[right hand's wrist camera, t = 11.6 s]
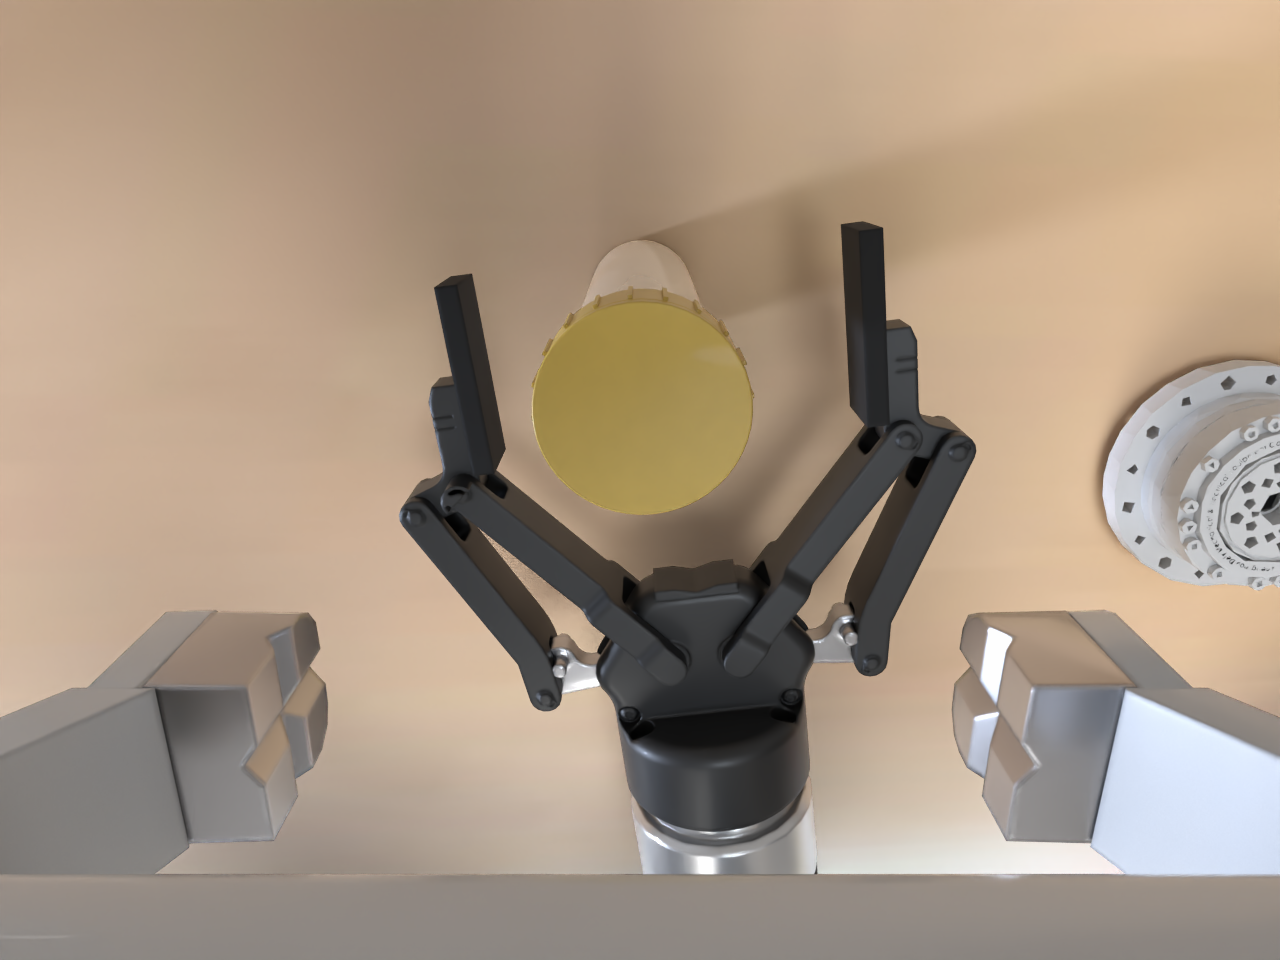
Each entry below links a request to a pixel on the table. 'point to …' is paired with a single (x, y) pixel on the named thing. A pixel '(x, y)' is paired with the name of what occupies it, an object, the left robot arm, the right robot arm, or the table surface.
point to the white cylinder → (641, 271)
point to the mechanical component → (1202, 477)
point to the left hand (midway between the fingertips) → (655, 251)
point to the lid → (642, 402)
